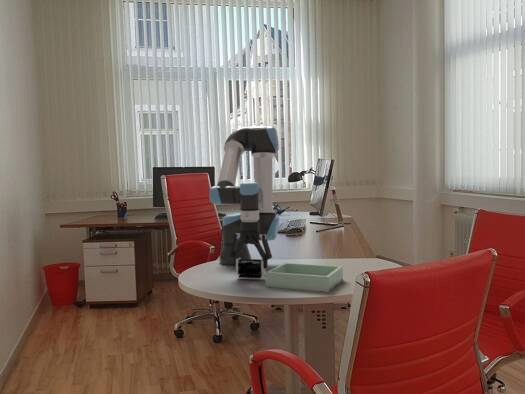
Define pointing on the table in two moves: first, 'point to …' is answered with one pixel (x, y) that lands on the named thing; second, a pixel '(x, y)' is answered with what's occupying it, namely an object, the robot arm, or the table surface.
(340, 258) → the table surface
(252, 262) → the end cap
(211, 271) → the table surface
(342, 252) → the table surface
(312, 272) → the walled box
